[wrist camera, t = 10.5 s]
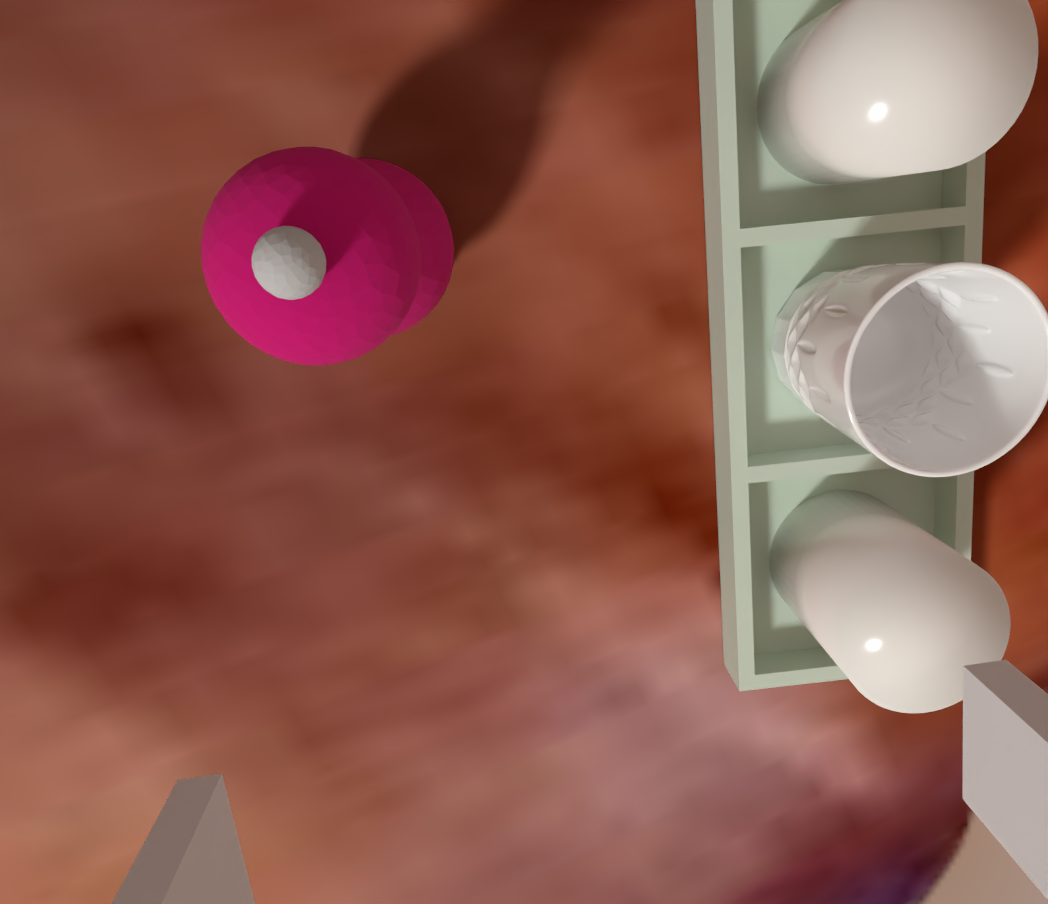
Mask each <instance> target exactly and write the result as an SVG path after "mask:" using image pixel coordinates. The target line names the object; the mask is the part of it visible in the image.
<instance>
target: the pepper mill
mask: <svg viewBox="0 0 1048 904" xmlns="http://www.w3.org/2000/svg"><path fill="white" fill-rule="evenodd" d="M201 255H202V268H203V273H204V276H205V280H206V284H207V287H208V290H209V293H210V295H211V297H212V299H213V301H214V304H215V305H216V307H217V308H218V310H219V311H220V312H221V314H222V315H223V317H224V318H225V320H226V321H227V322H228V324H229V325H230V327H232V328H233V329H234V330H235V331H236V332H237V333H238V334H239V335H241V336H242V337H243V338H244V339H245V340H246V341H247V342H249V343H250V344H252V345H253V346H255V347H257V348H258V349H260V350H262V351H264V352H265V353H267V354H270V355H272V356H274V357H276V358H279V359H282V360H285V361H288V362H291V363H298V364H304V365H328V364H334V363H340V362H345V361H348V360H351V359H354V358H357V357H360V356H362V355H364V354H365V353H367V352H369V351H371V350H373V349H375V348H376V347H378V346H380V345H381V344H382V343H383V342H384V341H385V340H386V339H387V338H388V337H389V336H390V335H393V334H396V333H399V332H402V331H404V330H406V329H408V328H410V327H412V326H414V325H415V324H417V323H418V322H419V321H421V320H422V319H423V318H425V317H426V316H427V315H428V314H429V313H430V312H431V311H432V310H433V308H434V307H435V306H436V305H437V303H438V302H439V300H440V299H441V297H442V296H443V294H444V292H445V290H446V288H447V285H448V283H449V280H450V276H451V272H452V268H453V261H454V243H453V236H452V230H451V227H450V224H449V221H448V218H447V215H446V213H445V211H444V209H443V207H442V205H441V204H440V202H439V200H438V199H437V198H436V196H435V195H434V194H433V192H432V191H431V190H430V189H429V188H428V187H427V186H426V185H425V184H424V183H423V182H422V181H421V180H420V179H419V178H417V177H416V176H415V175H413V174H412V173H410V172H409V171H407V170H405V169H403V168H401V167H399V166H397V165H395V164H392V163H389V162H385V161H382V160H376V159H369V158H354V157H351V156H348V155H345V154H342V153H340V152H337V151H334V150H331V149H325V148H318V147H296V148H289V149H283V150H278V151H274V152H271V153H269V154H266V155H264V156H261V157H259V158H257V159H254V160H253V161H251V162H250V163H248V164H247V165H246V166H244V167H243V168H241V169H240V170H238V171H237V172H236V173H235V174H234V175H233V176H232V177H231V178H230V179H229V180H228V181H227V182H226V183H225V184H224V186H223V187H222V189H221V190H220V191H219V193H218V194H217V196H216V197H215V198H214V201H213V203H212V205H211V208H210V210H209V212H208V215H207V217H206V220H205V223H204V227H203V235H202V242H201Z"/></svg>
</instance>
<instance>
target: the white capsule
mask: <svg viewBox="0 0 1048 904" xmlns="http://www.w3.org/2000/svg"><path fill="white" fill-rule="evenodd" d="M769 570H770V575H771V579H772V582H773V584H774V587H775V589H776V590H777V592H778V594H779V595H780V596H781V598H782V599H783V600H784V601H785V603H786V604H787V605H788V606H789V607H790V609H791V610H792V611H793V612H794V613H795V615H796V616H797V617H798V618H799V619H800V621H801V622H802V623H803V624H804V625H805V627H806V628H807V629H808V630H809V632H810V633H811V634H812V635H813V636H814V638H815V639H816V640H817V641H818V642H819V644H820V645H821V646H822V647H823V648H824V650H825V651H826V652H827V653H828V654H829V656H830V657H831V658H832V659H833V661H834V662H835V663H836V664H837V665H838V667H839V668H840V669H841V670H842V671H843V673H844V674H845V675H846V676H847V677H848V679H849V680H850V681H851V682H852V683H853V685H854V686H855V687H856V688H857V690H858V691H859V692H860V693H861V694H863V695H864V696H865V697H866V698H867V699H869V700H870V701H872V702H873V703H875V704H877V705H879V706H881V707H883V708H886V709H889V710H892V711H897V712H902V713H926V712H931V711H936V710H940V709H943V708H946V707H949V706H951V705H953V704H956V703H958V702H959V701H961V700H963V666H966V665H972V664H979V663H986V662H993V661H1000V660H1001V659H1002V657H1003V655H1004V652H1005V650H1006V647H1007V644H1008V640H1009V634H1010V612H1009V607H1008V603H1007V600H1006V597H1005V595H1004V593H1003V591H1002V589H1001V588H1000V586H999V585H998V583H997V582H996V581H995V580H994V579H993V578H992V576H991V575H990V574H989V573H987V572H986V571H985V570H983V569H982V568H981V567H979V566H978V565H976V564H975V563H973V562H972V561H970V560H969V559H967V558H966V557H964V556H963V555H961V554H960V553H958V552H957V551H955V550H954V549H952V548H951V547H949V546H948V545H946V544H945V543H943V542H942V541H940V540H939V539H937V538H936V537H934V536H933V535H931V534H930V533H928V532H927V531H925V530H924V529H922V528H921V527H919V526H918V525H916V524H915V523H913V522H912V521H910V520H909V519H907V518H906V517H904V516H903V515H901V514H900V513H898V512H897V511H895V510H894V509H892V508H891V507H889V506H888V505H886V504H885V503H883V502H882V501H880V500H879V499H877V498H875V497H873V496H872V495H869V494H866V493H864V492H859V491H855V490H834V491H829V492H825V493H822V494H818V495H816V496H814V497H812V498H809V499H808V500H806V501H804V502H803V503H801V504H800V505H799V506H797V507H796V508H795V509H794V510H793V511H791V512H790V513H789V514H788V515H787V517H786V518H785V519H784V520H783V522H782V523H781V525H780V526H779V528H778V529H777V531H776V534H775V536H774V538H773V541H772V544H771V548H770V553H769Z"/></svg>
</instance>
